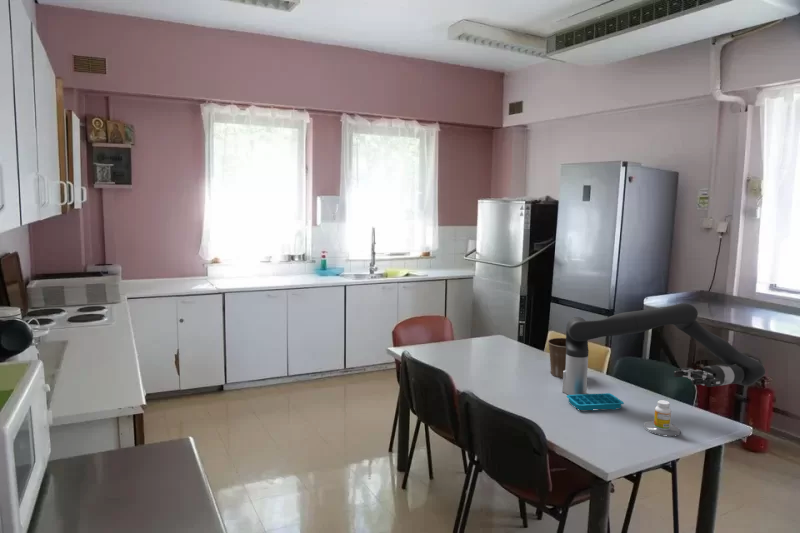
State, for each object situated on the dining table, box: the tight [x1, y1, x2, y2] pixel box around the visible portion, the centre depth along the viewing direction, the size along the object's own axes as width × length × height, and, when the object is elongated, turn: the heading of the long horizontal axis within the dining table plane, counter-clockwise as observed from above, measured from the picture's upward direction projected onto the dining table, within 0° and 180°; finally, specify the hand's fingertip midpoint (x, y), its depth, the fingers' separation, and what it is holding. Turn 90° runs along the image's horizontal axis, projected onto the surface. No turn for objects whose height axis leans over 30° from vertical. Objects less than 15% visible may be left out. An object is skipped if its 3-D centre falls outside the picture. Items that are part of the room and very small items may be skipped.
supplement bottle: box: [653, 399, 672, 430], centre depth 201 cm, size 5×5×10 cm
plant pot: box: [547, 337, 566, 379], centre depth 262 cm, size 16×16×16 cm
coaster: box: [643, 420, 681, 437], centre depth 201 cm, size 12×12×1 cm
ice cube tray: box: [566, 392, 625, 411], centre depth 224 cm, size 12×20×3 cm, turn 98°
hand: (683, 378), depth 203 cm, fingers open, 8 cm apart
